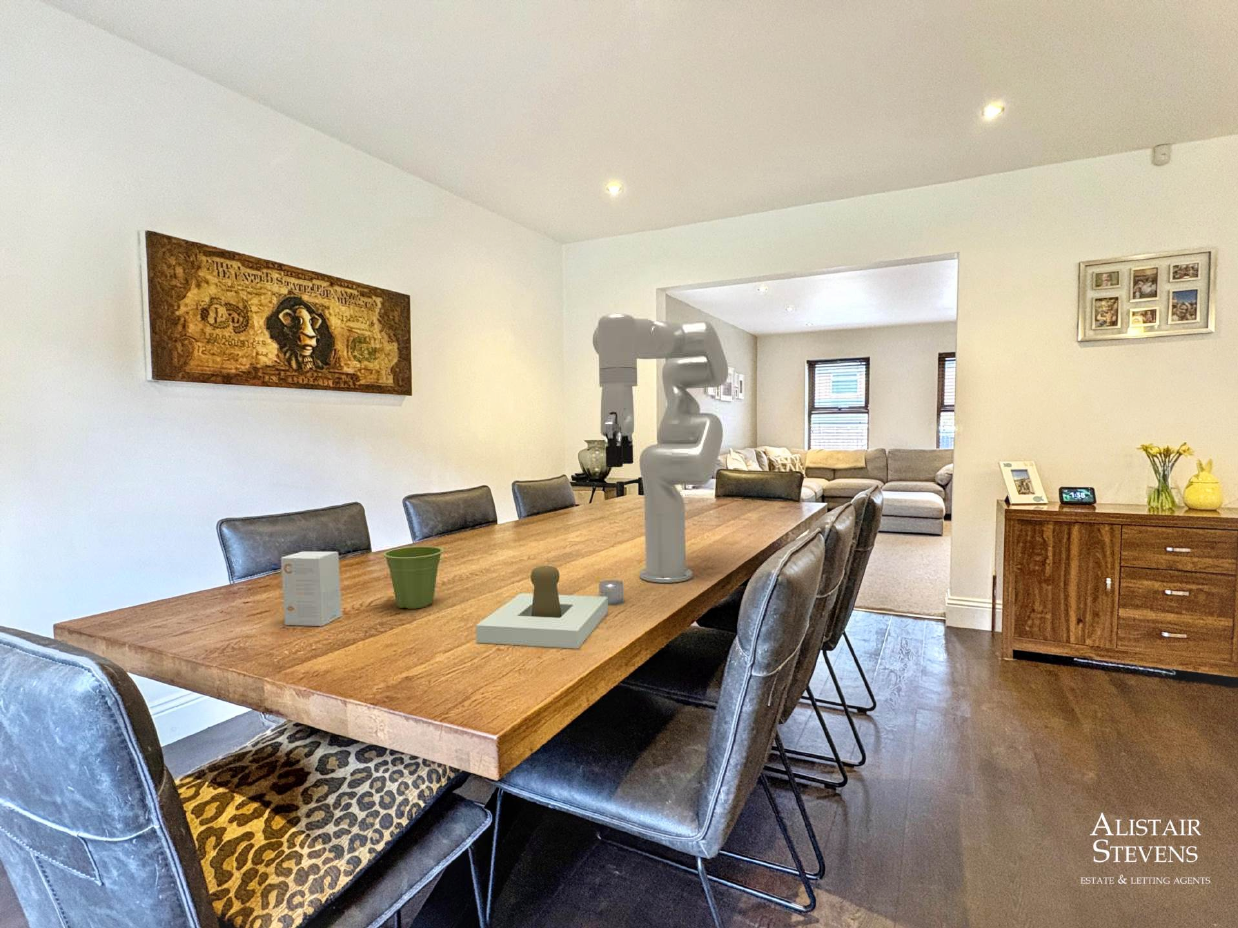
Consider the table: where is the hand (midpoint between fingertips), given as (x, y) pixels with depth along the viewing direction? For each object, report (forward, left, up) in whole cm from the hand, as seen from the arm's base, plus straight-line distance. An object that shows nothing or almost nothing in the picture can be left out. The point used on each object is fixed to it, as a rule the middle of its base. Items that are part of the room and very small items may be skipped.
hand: (620, 465), depth 122 cm
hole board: (+15, -11, -28) cm, 34 cm away
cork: (+15, -11, -28) cm, 34 cm away
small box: (+19, -57, -28) cm, 66 cm away
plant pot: (+6, -43, -28) cm, 52 cm away
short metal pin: (-2, -3, -28) cm, 29 cm away
